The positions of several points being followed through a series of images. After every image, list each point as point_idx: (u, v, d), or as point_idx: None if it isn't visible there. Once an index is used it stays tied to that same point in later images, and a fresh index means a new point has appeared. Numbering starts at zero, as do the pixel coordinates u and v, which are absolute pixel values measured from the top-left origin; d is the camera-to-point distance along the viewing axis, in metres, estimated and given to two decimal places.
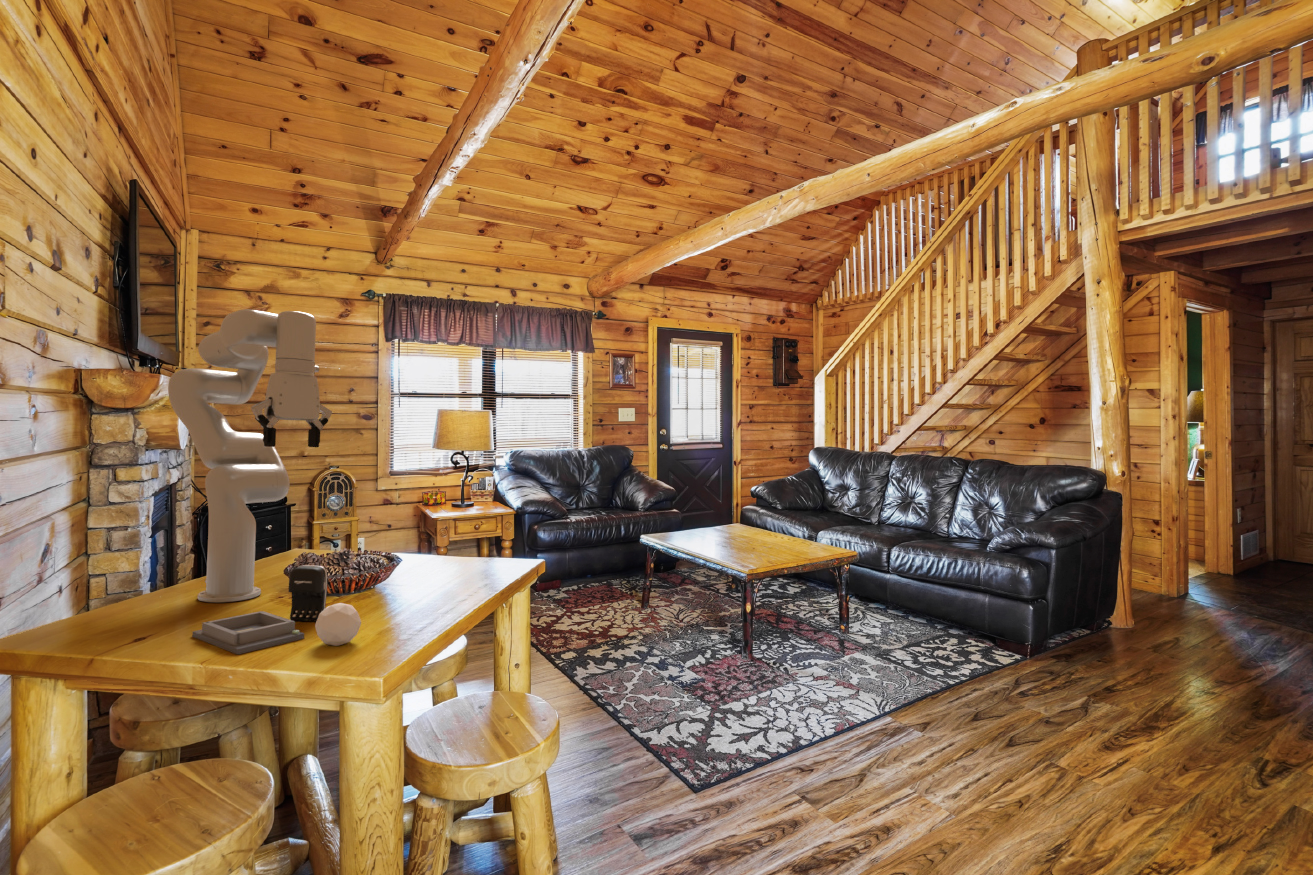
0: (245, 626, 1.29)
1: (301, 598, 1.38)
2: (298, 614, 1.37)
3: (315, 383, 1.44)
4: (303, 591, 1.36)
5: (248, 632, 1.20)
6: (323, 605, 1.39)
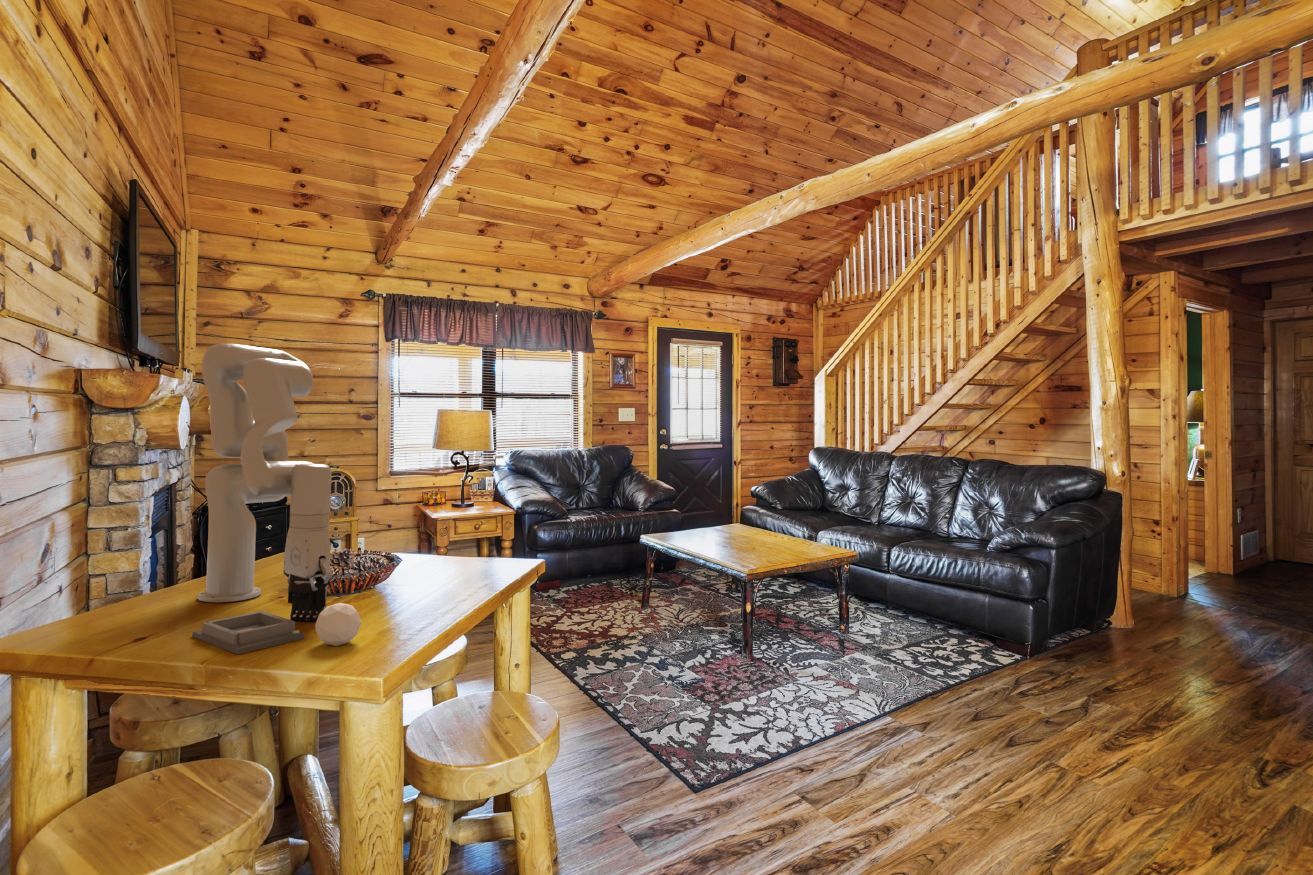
0: (245, 626, 1.29)
1: (301, 598, 1.38)
2: (298, 614, 1.37)
3: None
4: (303, 591, 1.36)
5: (248, 632, 1.20)
6: None
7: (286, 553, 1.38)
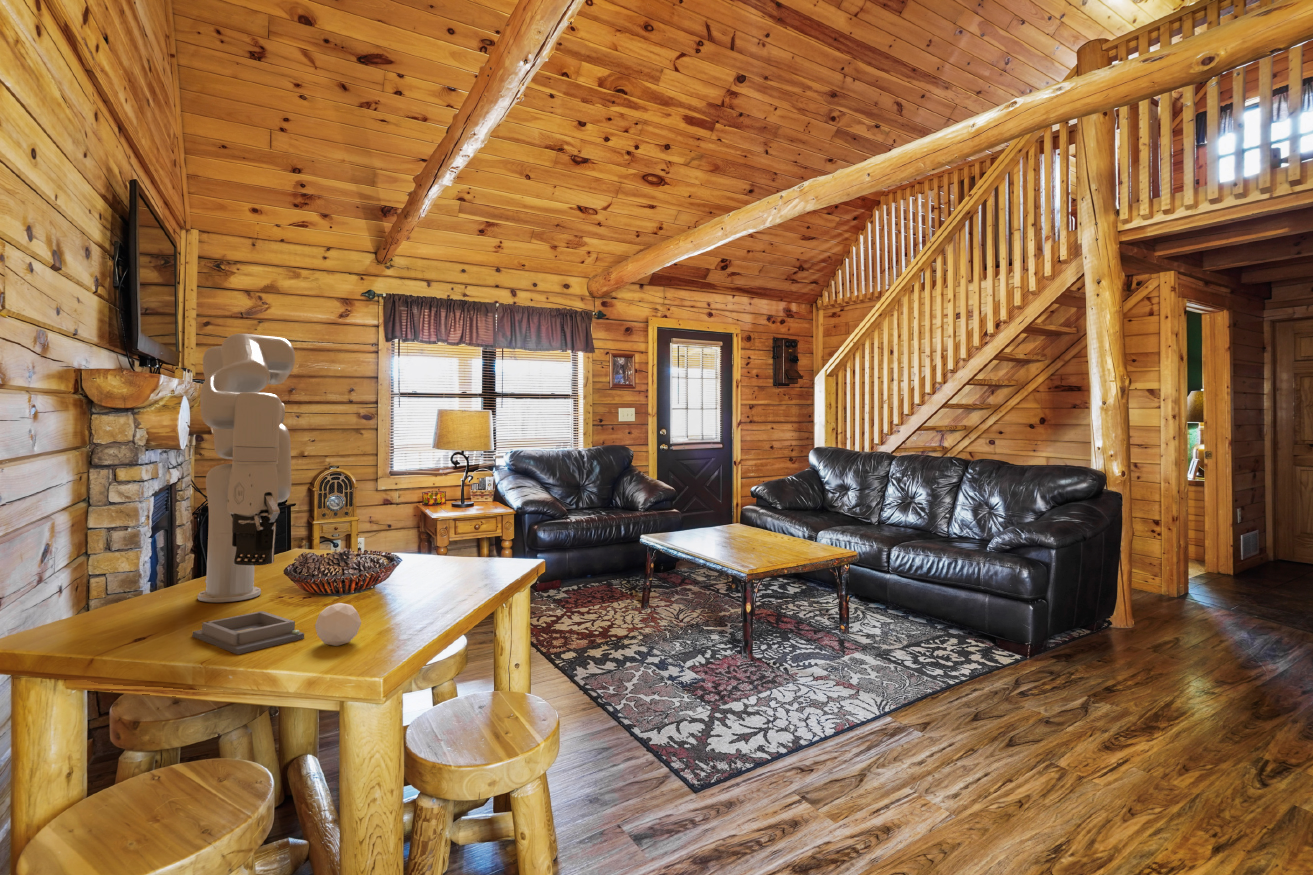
0: (245, 626, 1.29)
1: (247, 540, 1.25)
2: (243, 558, 1.25)
3: None
4: (248, 532, 1.24)
5: (248, 632, 1.20)
6: None
7: (230, 491, 1.25)
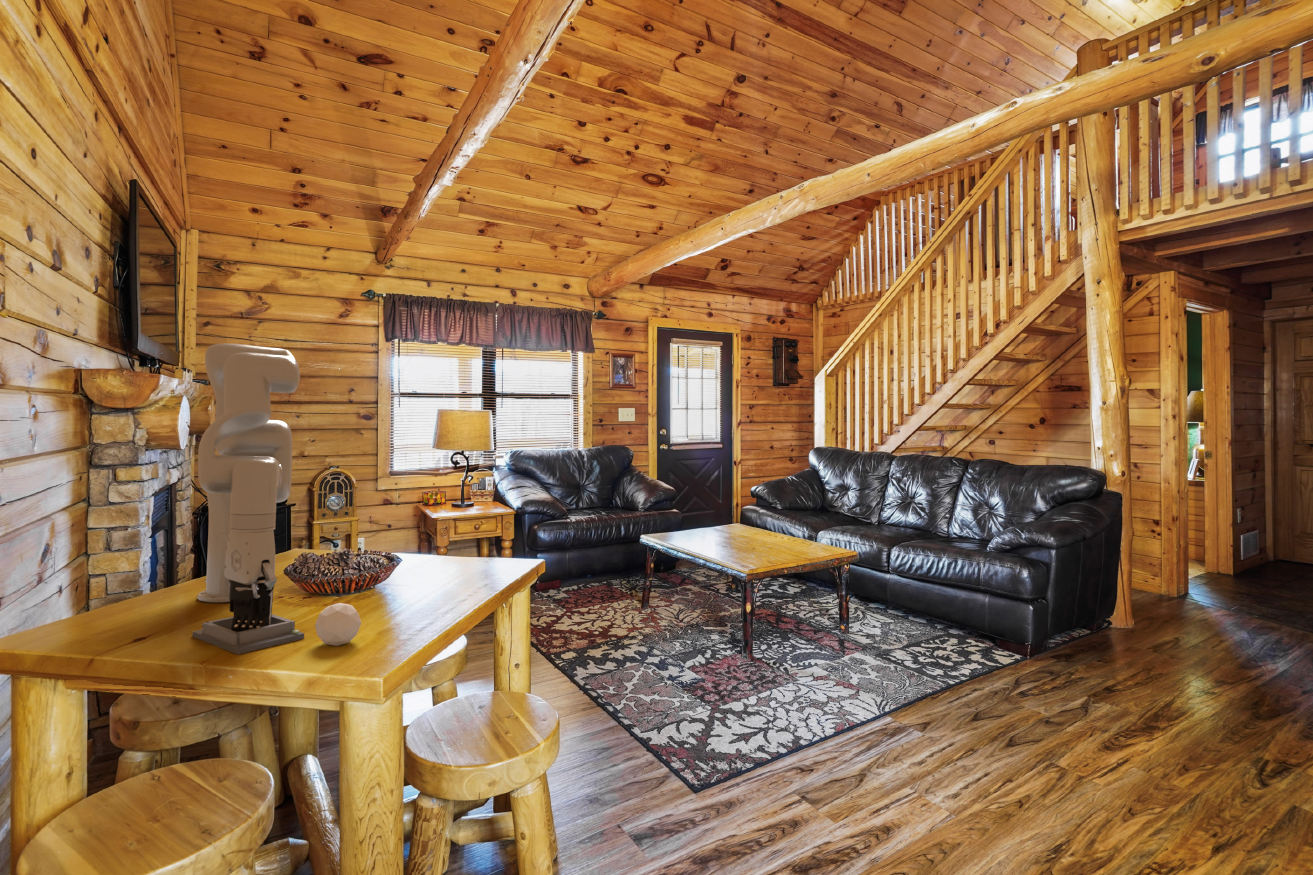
0: None
1: (244, 606, 1.25)
2: (240, 624, 1.25)
3: None
4: (245, 599, 1.24)
5: (248, 632, 1.20)
6: None
7: (227, 557, 1.25)
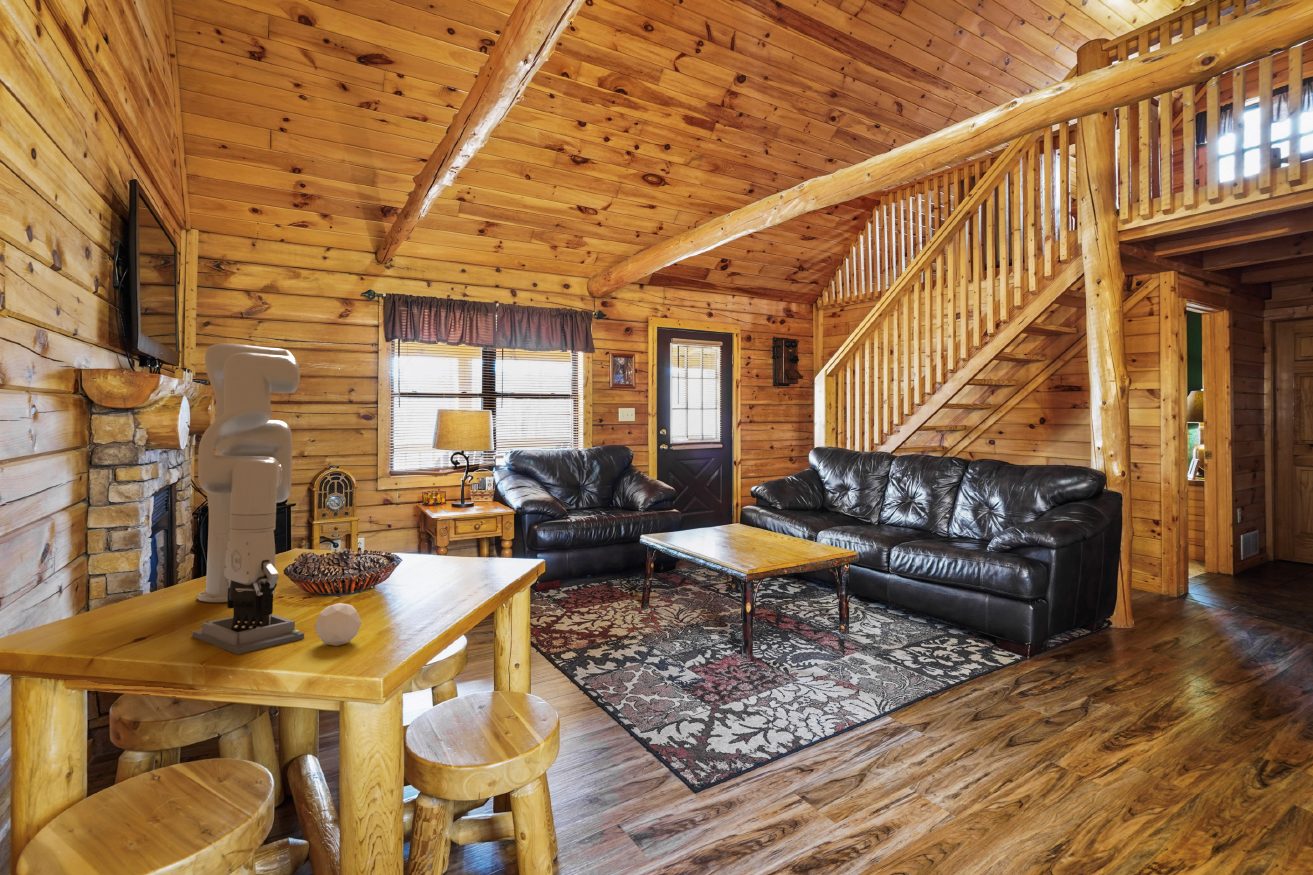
0: None
1: (244, 607, 1.26)
2: (240, 625, 1.25)
3: None
4: (245, 600, 1.24)
5: (248, 632, 1.20)
6: (268, 615, 1.26)
7: (227, 557, 1.25)
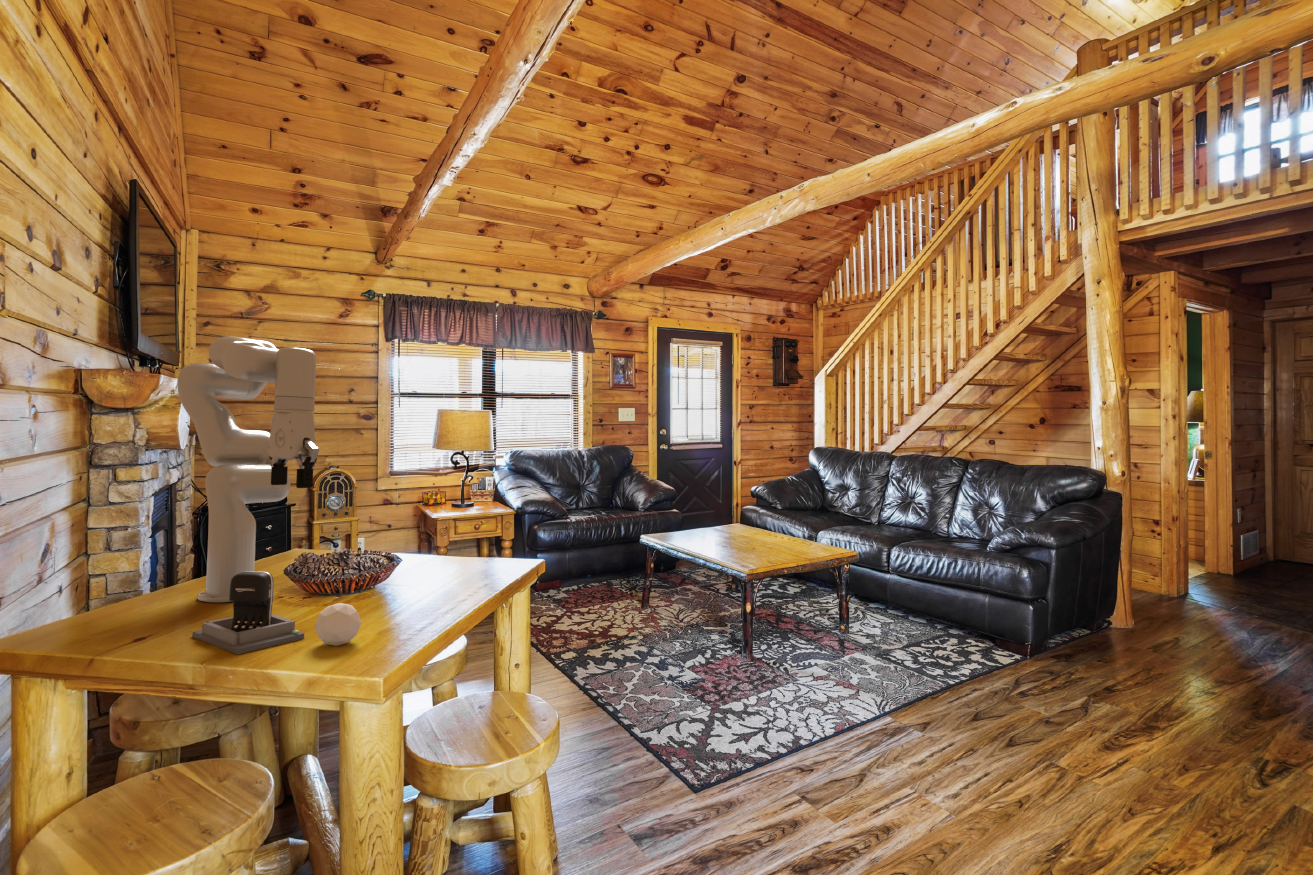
0: None
1: (244, 607, 1.26)
2: (240, 625, 1.25)
3: None
4: (245, 600, 1.24)
5: (248, 632, 1.20)
6: (268, 615, 1.26)
7: (271, 437, 1.38)
